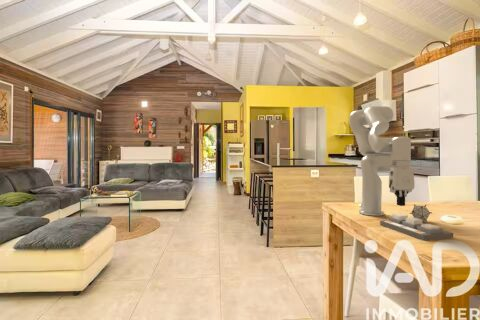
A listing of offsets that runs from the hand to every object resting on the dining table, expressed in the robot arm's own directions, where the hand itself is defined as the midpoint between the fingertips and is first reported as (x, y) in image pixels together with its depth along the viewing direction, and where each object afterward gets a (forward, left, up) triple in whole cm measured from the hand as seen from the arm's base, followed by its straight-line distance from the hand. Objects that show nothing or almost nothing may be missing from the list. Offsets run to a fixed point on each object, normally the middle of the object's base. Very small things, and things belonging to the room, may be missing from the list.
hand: (400, 205), depth 132 cm
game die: (-7, +17, -10) cm, 21 cm away
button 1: (-1, 0, -6) cm, 6 cm away
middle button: (+7, 0, -6) cm, 10 cm away
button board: (+7, 0, -10) cm, 12 cm away
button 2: (+15, 0, -7) cm, 17 cm away
